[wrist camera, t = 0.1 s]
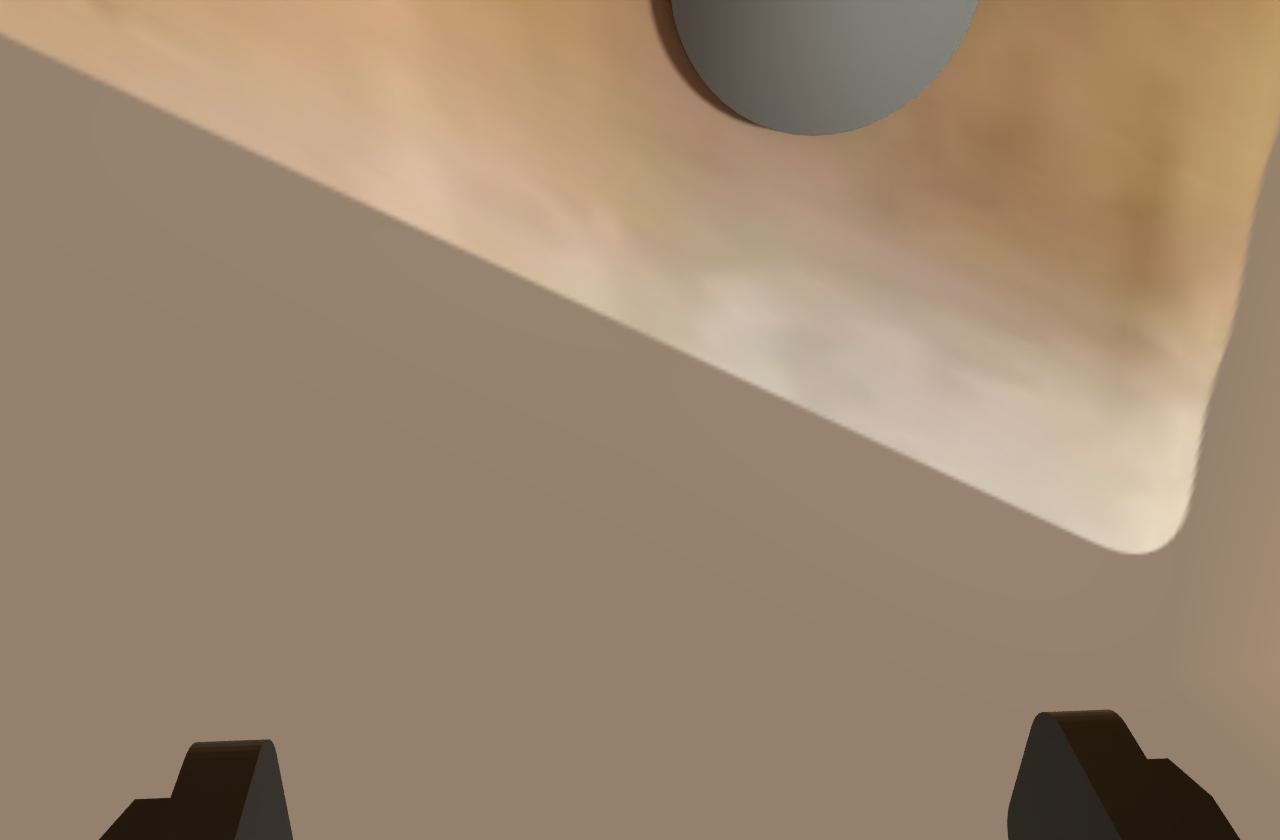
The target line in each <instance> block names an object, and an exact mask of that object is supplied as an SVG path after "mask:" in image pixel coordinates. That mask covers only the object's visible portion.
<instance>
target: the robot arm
mask: <svg viewBox="0 0 1280 840" xmlns="http://www.w3.org/2000/svg"><path fill="white" fill-rule="evenodd" d="M1007 825H1008V839H1009V840H1240V839H1239V837H1238V835H1237V834H1236V832H1235V831H1234V829H1233V828H1232V826H1231V825H1230V823H1229V822H1228V820H1227V819H1226V817H1225V816H1224V814H1223V812H1222V811H1221V809H1220V808H1219V806H1218V805H1217V804H1216V802H1215V800H1214V799H1213V797H1212V796H1211V795H1210V794H1209V793H1207V792H1206V791H1205V790H1204V789H1203V788H1201V787H1200V786H1199V785H1198V784H1197V783H1196V782H1195V781H1194V780H1192V779H1191V778H1190V777H1189V776H1188V775H1187V774H1185V773H1184V772H1183V771H1182V770H1181V769H1180V768H1178V767H1177V766H1176V765H1175V764H1174V763H1172V761H1170V760H1169V759H1168V758H1167V759H1147V758H1146V756H1145V755H1144V753H1143V752H1142V750H1141V748H1140V747H1139V745H1138V743H1137V742H1136V740H1135V738H1134V737H1133V735H1132V733H1131V732H1130V730H1129V729H1128V727H1127V725H1126V724H1125V722H1124V721H1123V720H1122V718H1121V717H1119V715H1118V714H1117V713H1115V712H1114V711H1111V710H1088V711H1062V712H1042V713H1039V714H1038V715H1037V716H1036V717H1035V719H1034V721H1033V724H1032V726H1031V730H1030V733H1029V737H1028V741H1027V744H1026V748H1025V751H1024V755H1023V758H1022V762H1021V765H1020V769H1019V772H1018V776H1017V779H1016V783H1015V786H1014V790H1013V794H1012V797H1011V801H1010V804H1009V810H1008V820H1007ZM99 840H293V837H292V831H291V826H290V821H289V816H288V811H287V806H286V801H285V795H284V790H283V786H282V780H281V775H280V770H279V765H278V760H277V754H276V750H275V747H274V744H273V743H272V741H271V740H244V741H218V742H197V743H194V744H193V745H192V746H191V747H190V748H189V750H188V752H187V754H186V757H185V759H184V762H183V765H182V767H181V770H180V773H179V776H178V779H177V782H176V784H175V787H174V790H173V792H172V795H171V798H159V799H158V798H157V799H135V800H134V801H133V802H132V803H131V804H130V806H129V807H128V808H127V809H126V810H125V811H124V812H123V813H122V814H121V816H120V817H119V818H118V819H117V820H116V821H115V822H114V823H113V825H112V826H111V827H110V828H109V829H108V830H107V831H106V832H105V834H104V835H103V836H102V837H101V838H100V839H99Z"/></svg>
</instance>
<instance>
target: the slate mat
mask: <svg viewBox="0 0 1280 840" xmlns="http://www.w3.org/2000/svg"><path fill="white" fill-rule="evenodd" d="M977 3H978V0H671V5H672V12H673V17H674V21H675V24H676V28H677V31H678V35H679V37H680V40H681V42H682V45H683V47H684V49H685V52H686V54H687V56H688V58H689V60H690V61H691V63H692V65H693V66H694V68H695V70H696V71H697V73H698V75H699V76H700V77H701V79H702V80H703V81H704V83H705V84H706V85H707V86H708V88H709V89H710V90H711V91H712V92H713V93H714V94H715V95H716V96H717V97H718V98H719V99H720V100H721V101H722V102H723V103H724V104H725V105H727V106H728V107H730V108H731V109H732V110H734V111H735V112H737V113H738V114H739V115H741V116H743V117H745V118H747V119H748V120H750V121H752V122H754V123H756V124H758V125H761V126H764V127H767V128H769V129H772V130H775V131H780V132H784V133H789V134H796V135H809V136H815V135H831V134H837V133H842V132H847V131H852V130H855V129H858V128H861V127H864V126H867V125H870V124H872V123H874V122H876V121H878V120H881V119H883V118H885V117H887V116H889V115H890V114H892V113H893V112H895V111H897V110H898V109H900V108H902V107H903V106H905V105H906V104H907V103H909V102H910V101H911V100H912V99H914V98H915V97H916V96H917V95H919V94H920V93H921V92H922V91H923V90H924V89H925V88H926V87H927V86H928V85H929V84H930V83H931V82H932V81H933V80H934V79H935V78H936V77H937V76H938V74H939V73H940V72H941V71H942V70H943V68H944V67H945V66H946V65H947V63H948V62H949V61H950V59H951V57H952V56H953V54H954V53H955V51H956V50H957V48H958V46H959V45H960V43H961V41H962V39H963V37H964V35H965V33H966V31H967V29H968V27H969V25H970V22H971V20H972V17H973V14H974V11H975V8H976V6H977Z"/></svg>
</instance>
